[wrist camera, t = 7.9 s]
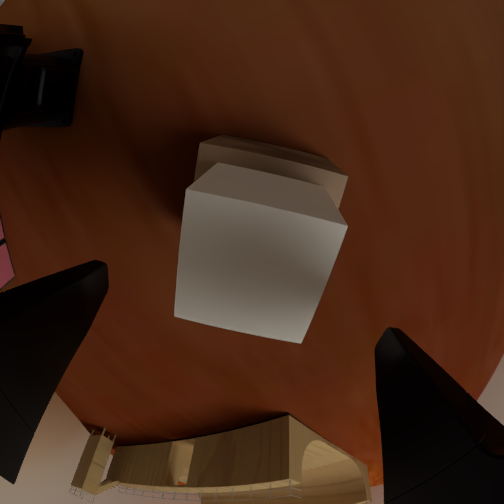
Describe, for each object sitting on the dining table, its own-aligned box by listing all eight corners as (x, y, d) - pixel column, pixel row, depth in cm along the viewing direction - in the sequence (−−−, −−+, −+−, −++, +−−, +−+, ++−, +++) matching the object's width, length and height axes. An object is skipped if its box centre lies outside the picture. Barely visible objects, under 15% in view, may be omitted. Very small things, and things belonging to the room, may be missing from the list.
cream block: (202, 256, 15) (174, 316, 11) (218, 162, 13) (185, 189, 8) (295, 276, 15) (301, 343, 11) (323, 186, 13) (347, 225, 8)
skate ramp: (212, 488, 54) (205, 539, 40) (93, 427, 42) (68, 491, 28) (366, 460, 41) (374, 529, 27) (258, 385, 29) (248, 527, 15)
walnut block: (206, 230, 21) (183, 271, 16) (223, 134, 18) (199, 142, 12) (300, 250, 21) (307, 298, 16) (327, 158, 18) (348, 176, 13)
